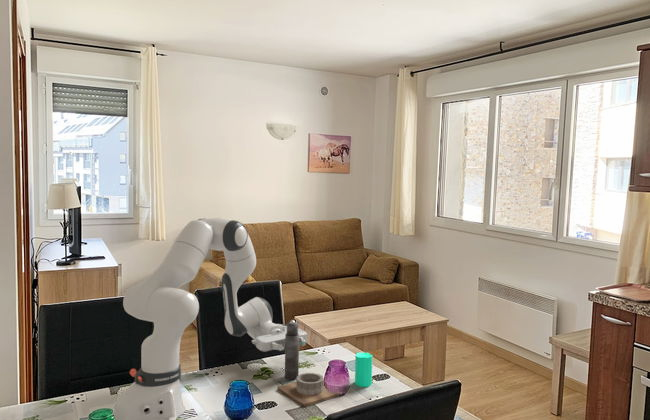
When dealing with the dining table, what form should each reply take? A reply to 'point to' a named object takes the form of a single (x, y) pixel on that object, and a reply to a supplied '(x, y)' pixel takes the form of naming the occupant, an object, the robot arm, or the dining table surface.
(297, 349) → the pepper mill
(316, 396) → the ring holder
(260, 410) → the dining table surface
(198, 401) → the dining table surface
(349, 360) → the dining table surface
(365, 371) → the candle
